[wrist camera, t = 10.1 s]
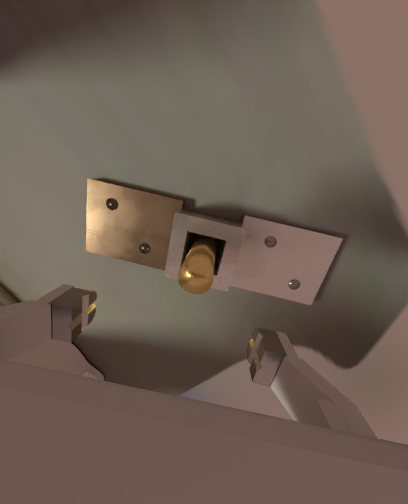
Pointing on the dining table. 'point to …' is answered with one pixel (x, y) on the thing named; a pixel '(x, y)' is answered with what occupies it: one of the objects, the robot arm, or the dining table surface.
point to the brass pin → (198, 266)
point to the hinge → (230, 231)
